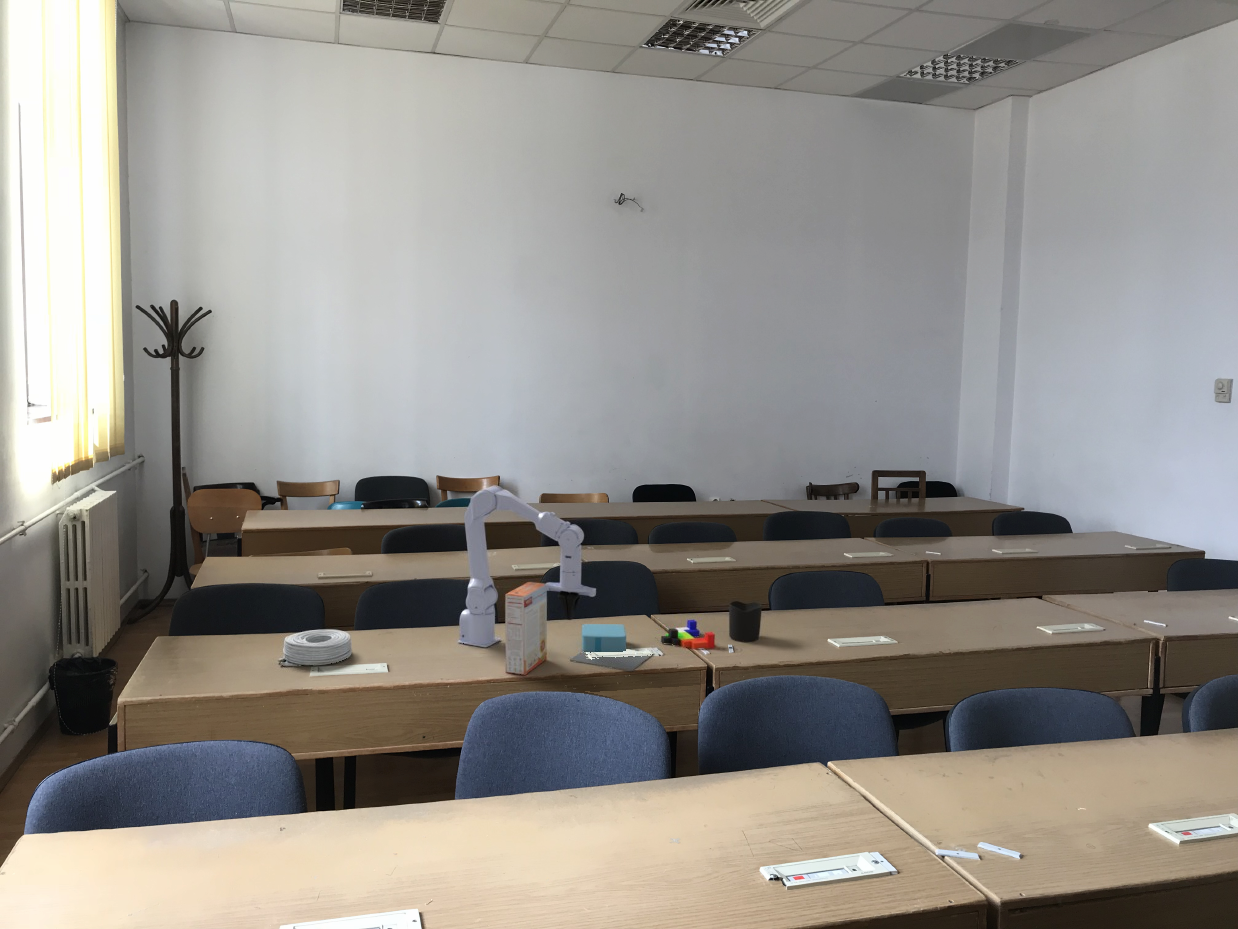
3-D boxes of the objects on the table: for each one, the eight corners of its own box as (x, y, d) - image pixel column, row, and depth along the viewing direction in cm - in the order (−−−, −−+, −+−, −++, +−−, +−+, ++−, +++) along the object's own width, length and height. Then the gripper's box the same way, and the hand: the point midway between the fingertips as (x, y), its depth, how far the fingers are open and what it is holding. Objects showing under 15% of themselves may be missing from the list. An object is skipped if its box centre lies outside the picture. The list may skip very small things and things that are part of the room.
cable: (273, 668, 242) (272, 645, 241) (295, 646, 259) (294, 625, 258) (342, 669, 242) (341, 646, 241) (359, 648, 259) (359, 626, 259)
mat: (569, 660, 252) (569, 659, 252) (594, 644, 266) (594, 643, 266) (631, 671, 245) (631, 670, 245) (654, 653, 259) (654, 652, 259)
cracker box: (526, 656, 254) (527, 580, 252) (547, 659, 252) (548, 583, 250) (503, 673, 241) (504, 593, 239) (524, 676, 239) (525, 595, 237)
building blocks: (652, 637, 276) (653, 622, 276) (693, 633, 280) (694, 619, 280) (672, 652, 262) (672, 637, 262) (714, 649, 266) (715, 634, 266)
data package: (582, 652, 258) (626, 652, 259) (582, 636, 258) (626, 636, 258) (581, 639, 270) (623, 639, 271) (582, 623, 269) (624, 624, 270)
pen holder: (744, 644, 269) (746, 610, 268) (721, 636, 277) (722, 603, 276) (767, 639, 275) (768, 605, 274) (743, 631, 283) (745, 598, 281)
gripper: (601, 570, 259) (599, 618, 260) (553, 564, 265) (553, 611, 266) (590, 575, 252) (589, 625, 254) (541, 569, 258) (541, 618, 260)
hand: (569, 618), depth 260 cm, fingers closed
